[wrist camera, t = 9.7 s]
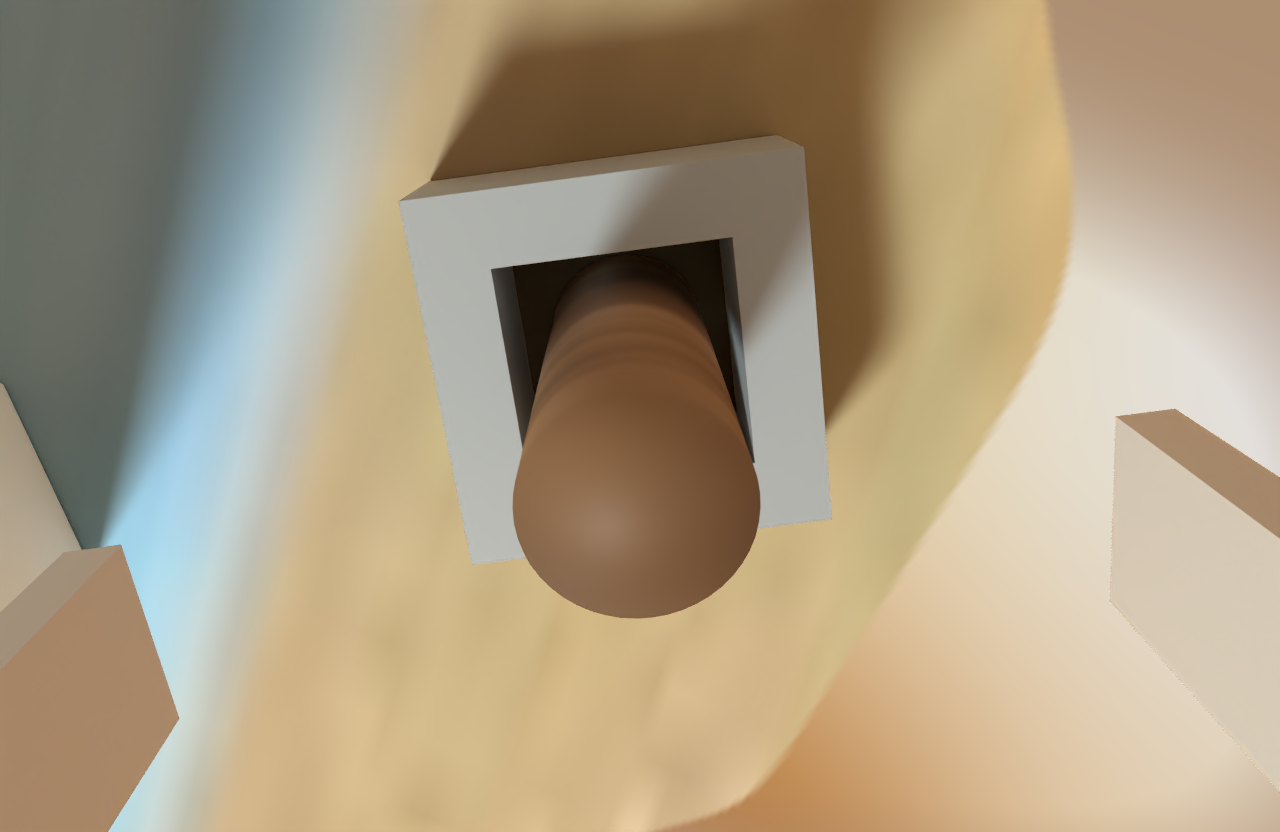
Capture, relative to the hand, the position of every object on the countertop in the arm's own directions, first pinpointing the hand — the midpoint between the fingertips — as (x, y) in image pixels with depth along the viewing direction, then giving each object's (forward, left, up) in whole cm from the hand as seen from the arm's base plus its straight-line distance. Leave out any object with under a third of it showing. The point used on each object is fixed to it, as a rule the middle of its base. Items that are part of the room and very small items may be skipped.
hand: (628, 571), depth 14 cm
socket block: (0, 0, -15) cm, 15 cm away
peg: (0, 0, -15) cm, 15 cm away
